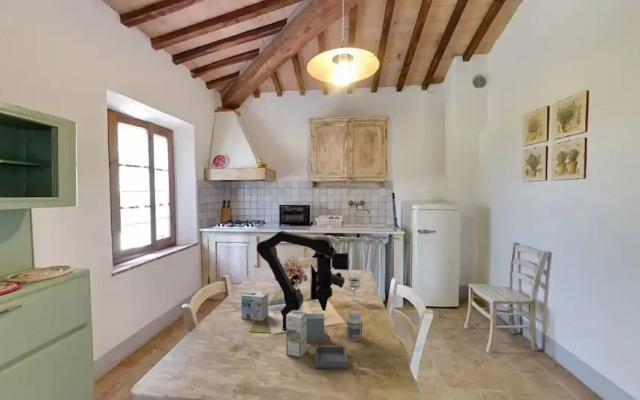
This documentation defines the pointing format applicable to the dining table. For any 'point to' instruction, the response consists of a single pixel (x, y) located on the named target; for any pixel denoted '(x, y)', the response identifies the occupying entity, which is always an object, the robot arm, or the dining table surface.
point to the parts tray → (330, 357)
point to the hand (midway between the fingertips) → (323, 306)
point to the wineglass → (353, 287)
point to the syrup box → (296, 333)
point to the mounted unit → (315, 329)
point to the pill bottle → (354, 326)
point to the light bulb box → (254, 305)
